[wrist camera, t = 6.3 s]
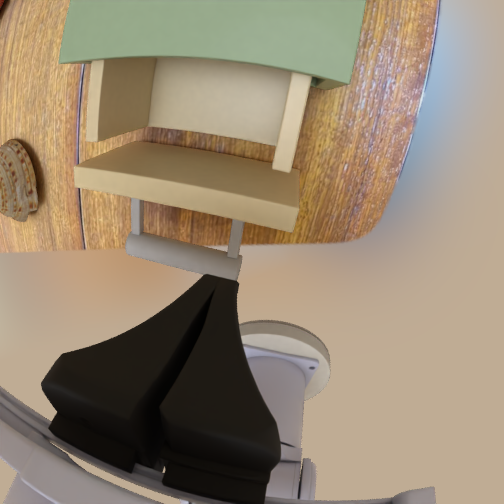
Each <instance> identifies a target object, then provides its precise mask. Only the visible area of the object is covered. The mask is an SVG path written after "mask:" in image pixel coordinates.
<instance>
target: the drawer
mask: <svg viewBox="0 0 504 504" xmlns="http://www.w3.org/2000/svg"><path fill="white" fill-rule="evenodd" d="M311 80H312V76H309V75H304V74H300V73H295V72H290V71H285V70H280V69H275V68H269V67H263V66H257V65H250V64H243V63H235V62H227V61H217V60H205V59H190V58H122V59H107V60H95V61H92V64H91V72H90V81H89V91H88V103H87V119H86V141H88V142H99V141H102V140H105V139H108V138H111V137H114V136H117V135H120V134H124V133H127V132H130V131H134V130H137V129H140V128H144V127H147V126H149V127H159V128H168V129H176V130H184V131H191V132H199V133H205V134H212V135H218V136H224V137H230V138H235V139H241V140H246V141H251V142H256V143H261V144H266V145H271V146H276V149H275V154H274V158H273V163H267V162H263V161H258V160H253V159H248V158H243V157H238V156H233V155H228V154H222V153H217V152H211V151H205V150H199V149H193V148H186V147H179V146H172V145H165V144H158V143H150V142H141V141H134V142H132V143H129V144H126V145H124V146H121V147H118V148H116V149H113V150H111V151H108V152H106V153H103V154H101V155H99V156H96V157H94V158H92V159H89V160H87V161H85V162H82V163H80V164H78V165H76V166H74V183H75V187H77V188H83V189H88V190H93V191H99V192H104V193H109V194H115V195H120V196H125V197H130V198H131V229H132V231H131V232H130V233H129V235H128V237H127V240H126V245H125V249H126V253H127V254H128V255H131V256H135V257H138V258H142V259H146V260H149V261H153V262H157V263H161V264H165V265H168V266H172V267H176V268H180V269H184V270H187V271H191V272H196V273H199V274H203V275H205V274H210V275H214V276H218V277H223V278H227V279H231V280H235V281H237V279H238V275H239V272H240V267H241V263H242V256H241V255H239V250H240V245H241V240H242V234H243V229H244V223H245V222H248V223H252V224H257V225H261V226H265V227H270V228H274V229H278V230H282V231H287V232H291V233H292V232H293V231H294V227H295V223H296V220H297V216H298V212H299V187H300V171H299V170H298V169H294V168H292V164H293V160H294V156H295V151H296V147H297V143H298V138H299V134H300V130H301V125H302V121H303V116H304V112H305V107H306V103H307V98H308V94H309V89H310V84H311ZM144 200H145V201H150V202H155V203H160V204H165V205H170V206H174V207H179V208H184V209H189V210H193V211H198V212H203V213H207V214H212V215H217V216H221V217H226V218H230V219H233V221H232V227H231V233H230V239H229V245H228V252H225V251H221V250H217V249H212V248H208V247H204V246H200V245H195V244H191V243H187V242H183V241H179V240H174V239H170V238H166V237H162V236H158V235H154V234H149V233H145V232H143V231H144Z"/></svg>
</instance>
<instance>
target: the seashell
mask: <svg viewBox="0 0 504 504" xmlns="http://www.w3.org/2000/svg"><path fill="white" fill-rule="evenodd" d="M37 209H38V195H37V191H36V178H35V174H34V170H33V166H32V163H31V160H30V158H29V156H28V154H27V152H26V151H25V149H24V148H23V146H22V145H21V144H20V143H19V142H18V141H16V140H8V141H7V142H6V143H4V144H3V145H2V146H1V147H0V213H2V214H3V215H5V216H7V217H12V218H13V219H14V220H17V221H20V222H25V221H26V219H27V217H28V214H29V212H30V211H35V210H37Z"/></svg>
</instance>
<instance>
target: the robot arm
mask: <svg viewBox="0 0 504 504" xmlns="http://www.w3.org/2000/svg"><path fill="white" fill-rule="evenodd" d="M238 287H239V283H238V282H237V281H235V280H231V279H227V278H223V277H218V276H214V275H210V274H205V275H203V276H202V277H201V279H199V280H198V281H197V282H196V283H195V284H194V285H193V286H192V287H191V288H189V290H187V291H186V292H185V293H184V294H182V295H181V296H180V297H179V298H177V299H176V300H175V301H174V302H173V303H171V304H170V305H169V306H167V307H166V308H164V309H163V310H161V311H160V312H159V313H157V314H156V315H154V316H153V317H151V318H150V319H148V320H146V321H145V322H143V323H141V324H140V325H138V326H136V327H134V328H132V329H130V330H128V331H126V332H125V333H122V334H120V335H118V336H116V337H114V338H111V339H109V340H106V341H104V342H101V343H98V344H95V345H92V346H89V347H86V348H83V349H79V350H75V351H71V352H67V353H63V354H62V355H61V356H60V357H59V358H58V359H57V360H56V362H55V363H54V365H53V366H52V367H51V369H50V370H49V372H48V373H47V375H46V376H45V378H44V379H43V381H42V382H41V386H42V390H43V392H44V393H45V395H46V397H47V398H48V400H49V401H50V403H51V404H52V405H53V407H54V408H55V410H56V411H57V414H56V415H55V417H54V419H53V420H52V422H51V421H50V420H48V419H47V418H45V417H43V416H42V415H40V414H39V413H37V412H35V411H34V410H33V409H31V408H30V407H28V406H27V405H25V404H24V403H22V402H21V401H20V400H18V399H16V398H15V397H14V396H13V395H11V394H10V393H9V392H7V391H6V390H5V389H3V388H2V387H1V386H0V458H1V459H2V460H3V461H5V462H6V463H7V464H8V465H9V466H10V467H12V468H13V469H14V470H15V471H17V472H18V473H17V475H16V477H15V479H14V481H13V483H12V485H11V487H10V489H9V491H8V494H7V496H6V498H5V500H4V502H3V504H163V503H161V502H158V501H155V500H152V499H150V498H147V497H144V496H142V495H139V494H137V493H134V492H132V491H129V490H127V489H125V488H122V487H120V486H117V485H115V484H113V483H111V482H108V481H106V480H104V479H102V478H100V477H98V476H96V475H93V474H91V473H89V472H87V471H86V470H85V469H83V468H82V467H80V466H79V465H78V464H76V463H75V462H74V461H73V460H72V459H71V458H70V457H69V456H68V454H66V453H65V452H63V451H62V450H60V449H59V448H57V447H56V446H55V445H57V446H58V447H60V448H62V449H63V450H65V451H67V452H68V453H70V454H72V455H74V456H76V457H78V458H79V459H81V460H83V461H85V462H87V463H89V464H91V465H93V466H95V467H97V468H99V469H101V470H104V471H105V472H108V473H110V474H112V475H114V476H117V477H119V478H121V479H124V480H126V481H129V482H131V483H134V484H136V485H139V486H141V487H144V488H147V489H150V490H152V491H155V492H158V493H161V494H164V495H167V496H171V497H174V498H178V499H179V500H180V503H181V504H436V500H435V488H434V487H427V488H422V489H415V490H409V491H406V492H402V493H399V494H397V495H395V496H394V497H393V498H383V499H372V500H371V499H370V500H351V501H321V500H318V501H317V500H314V498H315V487H316V465H315V464H314V463H313V462H311V459H309V458H304V459H303V464H302V469H301V475H300V467H301V455H302V448H301V439H302V425H303V410H304V392H305V389H306V387H307V385H308V384H309V382H310V380H311V378H312V377H313V375H314V373H315V372H316V370H317V368H318V366H319V360H317V359H314V358H308V357H303V356H297V355H292V354H287V353H282V352H277V351H273V350H268V349H263V348H259V347H254V346H250V345H246V344H243V343H242V339H241V334H240V329H239V322H238V313H237V293H238ZM311 366H313V367H311ZM49 441H50V442H52V443H53V444H55V445H53V444H52V443H50V442H49ZM164 466H165V469H166V470H165V473H162V472H163V469H164ZM299 479H300V481H299Z"/></svg>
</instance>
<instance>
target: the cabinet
mask: <svg viewBox="0 0 504 504" xmlns="http://www.w3.org/2000/svg"><path fill="white" fill-rule="evenodd" d="M365 5H366V0H70V4H69V8H68V12H67V17H66V21H65V26H64V31H63V37H62V42H61V49H60V55H59V64H92V61H95V60H107V59H122V58H190V59H205V60H217V61H227V62H235V63H243V64H250V65H257V66H263V67H269V68H275V69H280V70H285V71H290V72H295V73H300V74H304V75H309V76H312V80H311V84H310V86H311V87H315V88H319V89H323V90H330V89H333V88H337V87H340V86H344V85H349V84H350V81H351V77H352V72H353V67H354V63H355V58H356V53H357V48H358V43H359V38H360V33H361V28H362V22H363V17H364V11H365Z"/></svg>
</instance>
